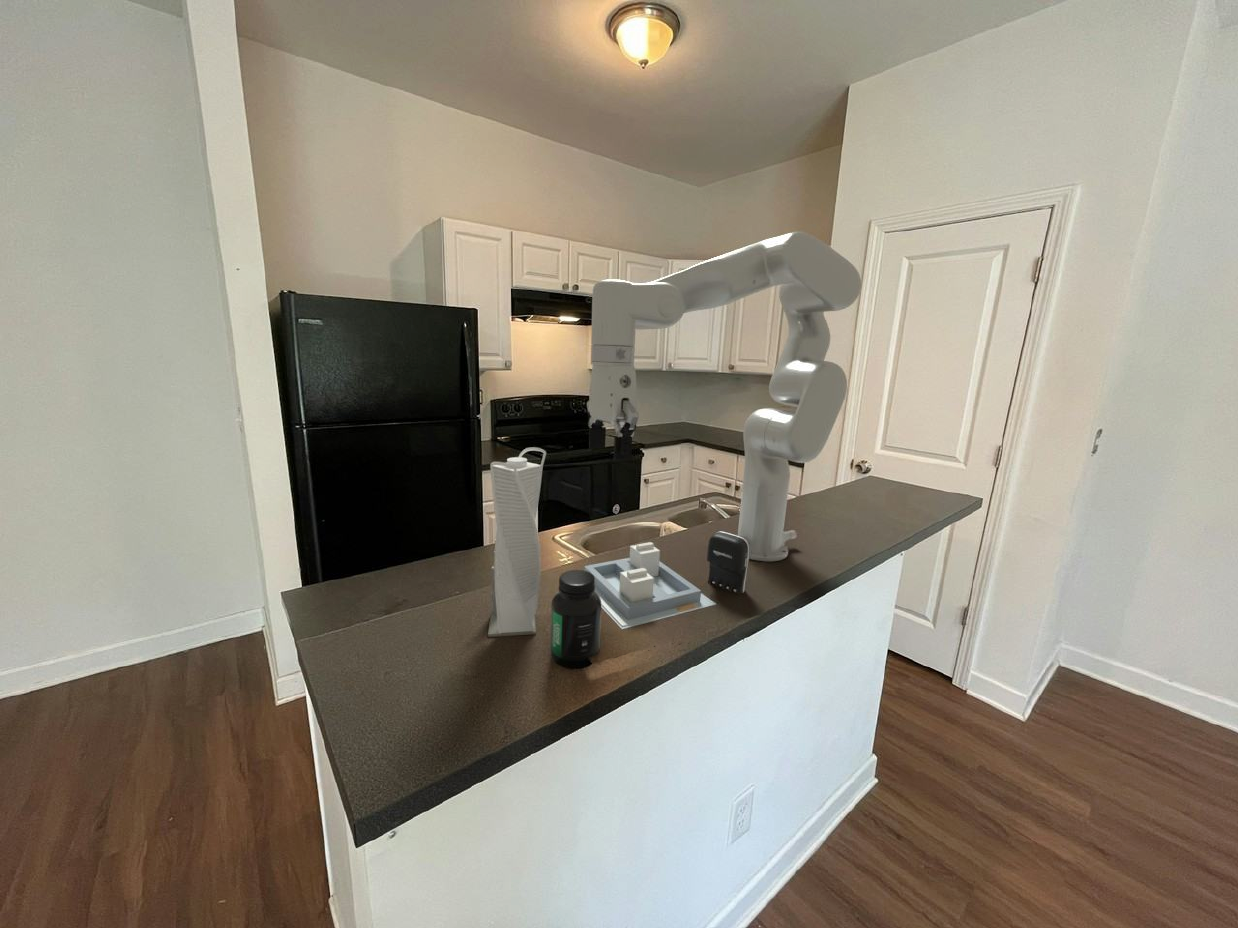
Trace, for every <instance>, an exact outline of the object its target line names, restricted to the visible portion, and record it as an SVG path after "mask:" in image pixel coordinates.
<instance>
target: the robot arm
mask: <svg viewBox="0 0 1238 928" xmlns="http://www.w3.org/2000/svg"><path fill="white" fill-rule="evenodd" d="M775 286H779V293H778V295H779V301H780V305H781V308H782V309H783V311H784V314H785V317H786V320H787V325H788V333H787V337H786V340H785V343H784V345H783V346H784V347H783V348H782V351H781V353H780V355H779V358H778V361H777V363H776V366H775V367H774V370H773V373H772V376H771V378H770V380H769V384H768V392H769V395H770V397H771V399H772V400H774V401H775V402H777V403H779V404H782V405H786V406H790V407H795V408H796V410H795V411H790V410H786V409H781V408H773V407H765V408H760V409H756V410H755V411H753V412H752V413H751V414H750V415H749V416H748V417H747V419H746V420H745V423H744V426H743V433H742V434H743V435H742V436H743V438H742V439H743V446H744V447H743V448H744V469H743V480H742V489H741V498H740V499H741V500H740V508H739V511H740V512H739V519H738V527H737V528H738V529H737V535H738V536H741V537H744V538H745V539H747V540H748V542H749V545H750V553H749V560H752V561H760V562H777V561H778V562H779V561H782V560H784V559H786V558H787V557H788V555H789V547H788V546H787V545H785V543H786V542H787V541H788V540H789V541H790V540H793V539H794V540H795V539H796V538H797V536H798V535H797V532H796V530H794V529H792V530H787V531H786V530H785V531H784V529H785V528H784V527H785V520H786V513H787V503H788V497H789V488H790V481H791V471H790V465H789V461H791V462H793V463H794V462H795V463H800V464H806V463H810V462H811V461H813V460H815V459H816V458H817V457H818V456H819V455H820V454H821V452H822V451H823V449H824V447H825V446H826V444H827V441H828V439H829V436H830V434H831V432H832V430H833V427H834V426H835V423H836V420H837V419H838V415H839V413H840V411H841V409H842V407H843V405H844V401H845V400H846V399H845V398H846V396H847V395H846V394H847V389H848V381H847V376H846V373H845V371H844V369H843V368H842V367H841V366H840V365H839V364H837V363H835V362H832V361H828V360H825V359H826V357H827V356H826V355H827V353H828V350H829V347H830V345H831V332H830V328H829V325H828V322H827V320H826V317H825V315H824V313H823V312H837V311H842V310H845V309H847V308H849V307H851V306H852V305H853V304H854V303H855V302H856V300H857V299H858V297H860V296H859V295H860V293H861V289H862V280H861V276H860V273H859V271H858V269H857V268H856V266H855V265H854V264H853V263H852V262H850V261H849V260H848V259H846V258H845V257H844V256H842V255H841V254H840V253H838V252H837V251H836V250H834V249H833V248H832V247H831V246H829V245H828V244H827V243H826V242H823V241H822V240H821V239H819V238H818V237H816V236H814V235H812V234H810V233H808V232H805V231H793V232H788V233H784V234H782V235H779V236H775V237H771V238H766V239H764V240H761V241H758V242H756V243H752V244H750V245H747V246H744V247H741V248H738V249H735V250H733V251H730V252H727V253H724V254H722V255H719V256H716V257H713V258H711V259H708V260H705V261H703V262H700V263H698V264H695V265H693V266H690V267H689V268H686V269H684V270H680V271H679V272H675V273H672V274H670V275H666V276H664V277H662V278H659V279H655V280H654V281H650V282H646V283H645V282H644V283H639V282H638V283H637V282H635V283H634V282H631V281H626V280H621V279H603V280H600V281H597V282H596V283H594V284H593V288H592V296H591V297H592V299H591V300H592V303H591V340H590V341H591V343H590V344H591V345H590V365H592V367H591V374H590V383H589V400H588V401H587V402H586V408H587V418H588V423H587V424H588V425H587V426H588V427H589V431H588V435H589V437H588V448H589V449H591V450H598V449H604V448H605V447H606V438H607V437H606V434H607V433H606V432H607V427H606V426H605V424H611V425H613V427H614V431H615V434H616V436H614V438H613V440H614V443H613V459H614V460H616V461H621V460H622V461H624V460H630V459H631V458H632V451H633V450H632V449H633V437H634V435H635V431H636V429H637V425H638V424H637V423H638V420H639V417H640V414H639V412H638V392H637V391H638V389H637V388H638V387H637V384H638V383H637V375H636V368H635V344H636V330H639V331H640V330H661V329H668V328H670V327H673V326H674V325H676V324H677V323H678V322H679V321H680V320H681V319H682V317H683V316H684V314H686V313H690V312H697V311H704V310H710V309H715V308H720V307H722V306H725V305H726V306H727V305H728V304H731V303H733V302H737V301H739V300H741V299H743V298H746V297H748V296H750V295H751V296H752V295H754V294H756V293H757V294H758V293H759V292H761V291H765V290H767V289H769V288H772V287H775Z"/></svg>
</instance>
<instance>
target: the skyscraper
mask: <svg viewBox="0 0 1238 928" xmlns="http://www.w3.org/2000/svg"><path fill="white" fill-rule="evenodd" d="M530 451H531V452H532V451H533V452H534V451H535V452H541V453H543V456H542V459H541V461H540V462H541V463H540V464H537V463H534V462H533V463H532V462H528V458H526V457H523V455H524V454H526V453H528V452H530ZM546 456H547V451H546V450H545V449H542V448H541V447H536V446H533V447H525V449H523V450H522V451H521V452H520V453H519V455H518V456H515V457H509V458H507V459H506V462H502V461H492V462H491V463H490V467H489V468H490V475H491V476H490V477H491V479H490V480H491V489H492V490H491V491H492V499H493V500H492V502H493V511H494V519H495V523H496V532H495V540H494V546H495V547H494V551H493V559H494V561H493V566H491V577H492V588H491V592H490V596H491V601H492V602H491V603H492V606H491V611H490V612H491V613H490V620H489V625H488V632H487V637H488V638H491V637H492V638H493V637H494V638H495V637H509V636H512V637H513V636H525V635H526V636H527V635H536V634H537V629H536V628H537V626H536V622H537V621H536V617H537V610H538V609H537V608H538V602H539V596H540V594H539V593H540V586H541V585H540V582H541V569H542V568H541V567H542V564H541V545H540V538H539V533H538V527H537V523H536V518H537V514H538V513H537V512H538V507H539V500H540V493H541V486H542V478H543V468H544V464H545V461H546V460H545V459H546Z"/></svg>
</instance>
